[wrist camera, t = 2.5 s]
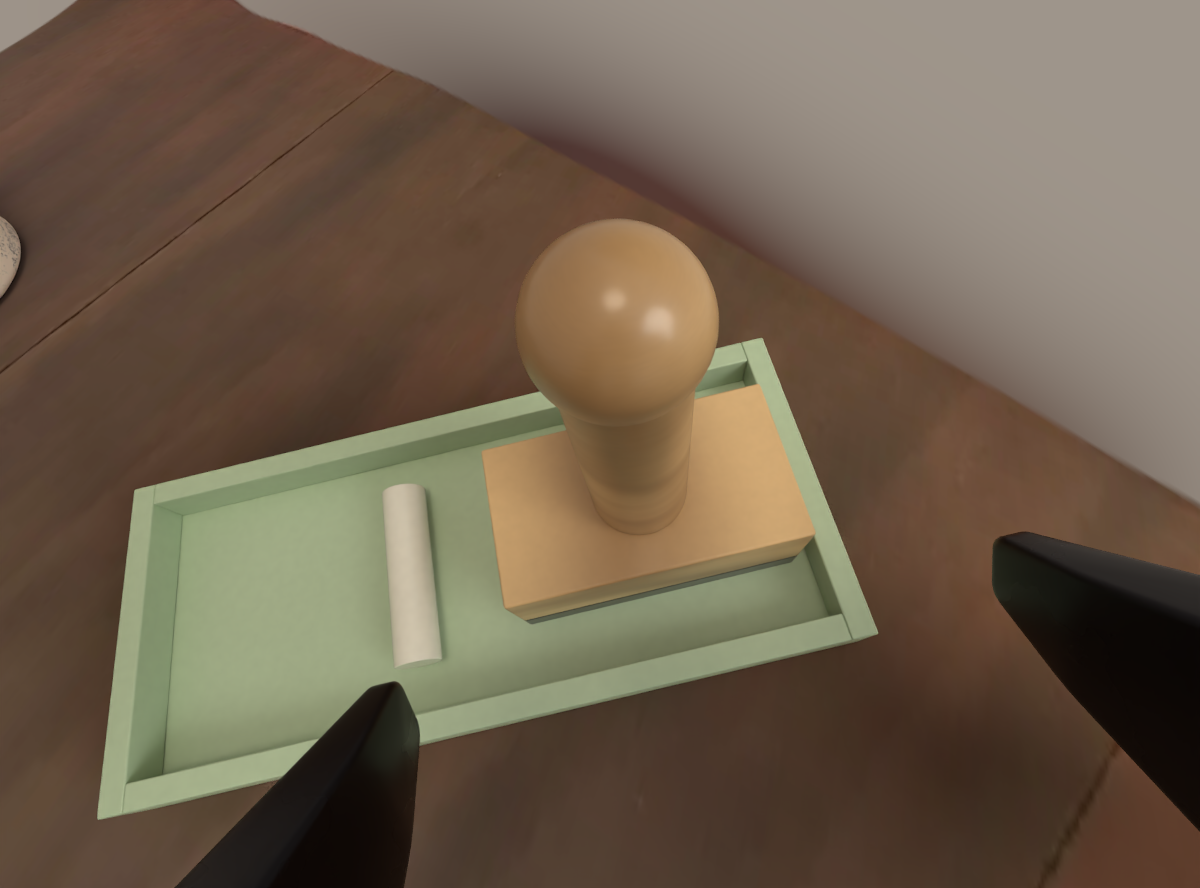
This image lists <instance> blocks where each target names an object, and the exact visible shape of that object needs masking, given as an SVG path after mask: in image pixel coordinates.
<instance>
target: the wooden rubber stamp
mask: <svg viewBox="0 0 1200 888" xmlns="http://www.w3.org/2000/svg"><path fill="white" fill-rule="evenodd" d="M718 331H719V312H718V304H717V300H716V296H715V292H714V288H713V285H712V283H711V281H710V279H709V277H708V275H707V273H706V270H705V269H704V267H703V266H702V264H701V263H700V261H699V260H698V258H697V257H696V256H695V255H694V254H693V253H692V251H691V250H690V249H689V248H688V247H687V246H686V245H685V244H683V243H682V242H681V241H680V240H679V239H677V238H676V237H674V236H673V235H671V234H670V233H668V232H667V231H665V230H663V229H661V228H659V227H657V226H654V225H651V224H648V223H645V222H640V221H636V220H630V219H603V220H598V221H593V222H590V223H587V224H584V225H581V226H579V227H576V228H574V229H572V230H570V231H569V232H567V233H565V234H563V235H562V236H560V237H559V238H558V239H556V240H555V241H553V242H552V243H551V244H550V245H549V246H548V247H547V248H546V249H545V250H544V251H543V252H542V253H541V254H540V255H539V257H538V258H537V259H536V261H535V262H534V263H533V265H532V266H531V268H530V269H529V271H528V273H527V275H526V277H525V279H524V282H523V284H522V287H521V289H520V292H519V295H518V300H517V306H516V312H515V333H516V342H517V346H518V350H519V354H520V357H521V360H522V363H523V365H524V367H525V369H526V371H527V373H528V375H529V377H530V378H531V380H532V381H533V383H534V384H535V386H536V387H537V388H538V390H539V391H540V392H541V393H542V394H543V395H544V396H545V397H546V398H547V399H548V400H549V401H550V402H551V403H552V404H554V405H555V406H556V407H557V408H558V409H559V412H560V414H561V417H562V420H563V422H564V425H565V428H566V430H565V431H561V432H556V433H552V434H548V435H544V436H540V437H536V438H532V439H528V440H523V441H519V442H515V443H511V444H507V445H503V446H499V447H494V448H490V449H486V450H483V451H482V452H481V455H482V462H483V469H484V476H485V482H486V489H487V496H488V503H489V510H490V517H491V524H492V530H493V537H494V544H495V551H496V558H497V565H498V572H499V579H500V585H501V592H502V599H503V606H504V608H505V609H506V610H508V611H510V612H511V613H513V614H515V615H516V616H518V617H520V618H521V619H523V620H525V621H526V622H528V623H529V624H536V623H540V622H544V621H548V620H552V619H557V618H561V617H565V616H569V615H573V614H578V613H582V612H586V611H590V610H594V609H598V608H603V607H607V606H611V605H615V604H619V603H623V602H628V601H632V600H636V599H640V598H644V597H649V596H653V595H657V594H661V593H665V592H669V591H674V590H678V589H682V588H686V587H690V586H695V585H699V584H703V583H707V582H711V581H715V580H720V579H724V578H728V577H732V576H736V575H740V574H745V573H749V572H753V571H757V570H761V569H766V568H770V567H774V566H778V565H782V564H786V563H791V562H792V561H793V560H794V559H795V558H796V557H797V555H798V554H799V553H800V552H801V551H802V550H803V548H804V547H805V546H806V545H807V544H808V542H809V541H810V540H811V539H812V538H813V537H814V535H815V534H816V532H815V529H814V526H813V524H812V521H811V518H810V516H809V513H808V510H807V508H806V505H805V502H804V500H803V497H802V495H801V492H800V489H799V487H798V484H797V481H796V479H795V476H794V473H793V471H792V468H791V465H790V463H789V460H788V457H787V455H786V452H785V449H784V447H783V444H782V442H781V439H780V436H779V434H778V431H777V428H776V426H775V423H774V420H773V418H772V415H771V412H770V410H769V407H768V404H767V402H766V399H765V396H764V394H763V391H762V389H761V386H760V385H759V384H755V385H751V386H747V387H743V388H738V389H734V390H730V391H726V392H722V393H718V394H714V395H709V396H705V397H701V398H697V399H694V398H695V389H696V387H697V386H698V385H699V383H700V382H701V381H702V379H703V377H704V375H705V373H706V372H707V370H708V368H709V366H710V364H711V361H712V358H713V356H714V353H715V349H716V344H717V339H718Z"/></svg>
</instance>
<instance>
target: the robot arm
mask: <svg viewBox="0 0 1200 888" xmlns="http://www.w3.org/2000/svg"><path fill="white" fill-rule="evenodd" d="M992 586H993V590H994V593H995V595H996V597H997V599H998V601H999V602H1000V603H1001V605H1002V606H1003V607H1004V609H1005V610H1006V611H1007V613H1008V614H1009V615H1010V616H1011V618H1012V619H1013V620H1014V622H1015V623H1016V624H1017V626H1018V627H1019V628H1020V629H1021V631H1022V632H1023V633H1024V635H1025V636H1026V637H1027V638H1028V640H1029V641H1030V642H1031V644H1032V645H1033V646H1034V648H1035V649H1036V650H1037V651H1038V653H1039V654H1040V655H1041V657H1042V658H1043V659H1044V660H1045V662H1046V663H1047V664H1048V666H1049V667H1050V668H1051V670H1052V671H1053V672H1054V673H1055V675H1056V676H1057V677H1058V678H1059V680H1060V681H1061V682H1062V683H1063V684H1064V686H1065V687H1066V688H1067V689H1068V690H1069V692H1070V693H1071V694H1072V695H1073V696H1074V697H1075V698H1076V699H1077V701H1078V702H1079V703H1080V704H1081V705H1082V706H1083V707H1084V708H1085V709H1086V710H1087V711H1088V713H1089V714H1090V715H1091V716H1092V717H1093V718H1094V719H1095V720H1096V721H1097V722H1098V723H1099V724H1100V725H1101V726H1102V728H1103V729H1104V730H1105V731H1106V732H1107V733H1108V734H1109V735H1110V736H1111V737H1112V738H1113V739H1114V740H1115V741H1116V742H1117V744H1118V745H1119V746H1120V747H1121V748H1122V749H1123V750H1124V751H1125V752H1126V753H1127V754H1128V755H1129V756H1130V757H1131V759H1132V760H1133V761H1134V762H1135V763H1136V764H1137V765H1138V766H1139V767H1140V768H1141V769H1142V770H1143V771H1144V772H1145V774H1146V775H1147V776H1148V777H1149V778H1150V779H1151V780H1152V781H1153V782H1154V783H1155V784H1156V785H1157V786H1158V787H1159V789H1160V790H1161V791H1162V792H1163V793H1164V794H1165V795H1166V796H1167V797H1168V798H1169V799H1170V800H1171V801H1172V802H1173V804H1174V805H1175V806H1176V807H1177V808H1178V809H1179V810H1180V811H1181V812H1182V813H1183V814H1184V815H1185V816H1186V817H1187V819H1188V820H1189V821H1190V822H1191V823H1192V824H1193V825H1194V826H1195V827H1196V828H1197V829H1198V830H1199V831H1200V575H1197V574H1193V573H1189V572H1185V571H1181V570H1177V569H1173V568H1169V567H1165V566H1162V565H1158V564H1154V563H1150V562H1146V561H1142V560H1138V559H1134V558H1130V557H1126V556H1122V555H1118V554H1114V553H1110V552H1106V551H1102V550H1098V549H1094V548H1090V547H1086V546H1082V545H1078V544H1074V543H1070V542H1066V541H1062V540H1058V539H1054V538H1050V537H1046V536H1042V535H1038V534H1034V533H1030V532H1018V533H1014V534H1010V535H1006V536H1001V537H999V538H997V539H996V540H995V541H994V544H993V556H992ZM419 745H420V729H419V724H418V720H417V718H416V716H415V713H414V711H413V709H412V707H411V704H410V702H409V700H408V698H407V695H406V693H405V691H404V689H403V687H402V685H401V684H400V683H399V682H396V681H391V682H387V683H383V684H379V685H374V686H372V687H370V688H368V689H367V690H366V691H365V692H364V693H363V694H362V695H361V696H360V697H359V698H358V699H357V700H356V701H355V702H354V703H353V705H352V706H351V707H350V708H349V709H348V710H347V711H346V712H345V713H344V714H343V715H342V716H341V717H340V718H339V719H338V720H337V721H336V722H335V723H334V724H333V725H332V726H331V727H330V728H329V729H328V730H327V731H326V732H325V733H324V734H323V735H322V736H321V738H320V739H319V740H318V741H317V742H316V743H315V744H314V745H313V746H312V747H311V748H310V749H309V750H308V751H307V752H306V753H305V754H304V755H303V756H302V757H301V758H300V759H299V760H298V761H297V762H296V763H295V764H294V765H293V766H292V767H291V768H290V769H289V770H288V772H287V773H286V774H285V775H284V776H283V777H282V778H281V779H280V780H279V781H278V782H277V783H276V784H275V785H274V786H273V787H272V788H271V789H270V790H269V791H268V792H267V793H266V794H265V795H264V796H263V797H262V798H261V799H260V800H259V801H258V802H257V803H256V804H255V805H254V807H253V808H252V809H251V810H250V811H249V812H248V813H247V814H246V815H245V816H244V817H243V818H242V819H241V820H240V821H239V822H238V823H237V824H236V825H235V826H234V827H233V828H232V829H231V830H230V831H229V832H228V833H227V834H226V835H225V836H224V837H223V838H222V839H221V840H220V842H219V843H218V844H217V845H216V846H215V847H214V848H213V849H212V850H211V851H210V852H209V853H208V854H207V855H206V856H205V857H204V858H203V859H202V860H201V861H200V862H199V863H198V864H197V865H196V866H195V867H194V868H193V869H192V870H191V871H190V872H189V873H188V874H187V875H186V877H185V878H184V879H183V880H182V881H181V882H180V883H179V884H178V885H177V886H176V887H175V888H404V884H405V878H406V873H407V867H408V862H409V855H410V849H411V842H412V833H413V822H414V809H415V797H416V784H417V771H418V758H419Z"/></svg>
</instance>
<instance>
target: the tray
mask: <svg viewBox="0 0 1200 888" xmlns="http://www.w3.org/2000/svg"><path fill="white" fill-rule="evenodd" d="M755 384H759V385H760V386H761V389H762V391H763V394H764V396H765V399H766V402H767V404H768V407H769V410H770V412H771V415H772V418H773V420H774V423H775V426H776V428H777V431H778V434H779V436H780V439H781V442H782V444H783V447H784V449H785V452H786V455H787V457H788V460H789V463H790V465H791V468H792V471H793V473H794V476H795V479H796V481H797V484H798V487H799V489H800V492H801V495H802V497H803V500H804V502H805V505H806V508H807V510H808V513H809V516H810V518H811V521H812V524H813V526H814V529H815V532H816V534H815V535H814V537H813V538H812V539H811V540H810V541H809V542H808V544H807V545H806V546H805V547H804V548H803V550H802V551H801V552H800V553H799V554H798V555H797V557H796V558H795V559H794V560H793V561H792V562H791V563H786V564H782V565H778V566H774V567H770V568H766V569H761V570H757V571H753V572H749V573H745V574H740V575H736V576H732V577H728V578H724V579H720V580H715V581H711V582H707V583H703V584H699V585H695V586H690V587H686V588H682V589H678V590H674V591H669V592H665V593H661V594H657V595H653V596H649V597H644V598H640V599H636V600H632V601H628V602H623V603H619V604H615V605H611V606H607V607H603V608H598V609H594V610H590V611H586V612H582V613H578V614H573V615H569V616H565V617H561V618H557V619H552V620H548V621H544V622H540V623H536V624H529V623H528V622H526V621H525V620H523V619H521V618H520V617H518V616H516V615H515V614H513V613H511V612H510V611H508V610H506V609H505V608H504V606H503V599H502V592H501V585H500V579H499V572H498V565H497V558H496V551H495V544H494V537H493V530H492V524H491V517H490V510H489V503H488V496H487V489H486V482H485V476H484V469H483V462H482V455H481V452H482V451H483V450H486V449H490V448H494V447H499V446H503V445H507V444H511V443H515V442H519V441H523V440H528V439H532V438H536V437H540V436H544V435H548V434H552V433H556V432H561V431H565V430H566V428H565V425H564V422H563V420H562V417H561V414H560V412H559V409H558V408H557V407H556V406H555V405H554V404H552V403H551V402H550V401H549V400H548V399H547V398H546V397H545V396H544V395H543V394H542V393H541V392H535V393H531V394H527V395H523V396H519V397H515V398H511V399H507V400H502V401H498V402H494V403H490V404H486V405H482V406H478V407H474V408H469V409H465V410H461V411H457V412H453V413H449V414H445V415H441V416H436V417H432V418H428V419H424V420H420V421H416V422H412V423H408V424H403V425H399V426H395V427H391V428H387V429H383V430H379V431H375V432H370V433H366V434H362V435H358V436H354V437H350V438H346V439H342V440H337V441H333V442H329V443H325V444H321V445H317V446H313V447H309V448H304V449H300V450H296V451H292V452H288V453H284V454H280V455H276V456H271V457H267V458H263V459H259V460H255V461H251V462H247V463H243V464H238V465H234V466H230V467H226V468H222V469H218V470H214V471H210V472H205V473H201V474H197V475H193V476H189V477H185V478H181V479H177V480H172V481H168V482H164V483H160V484H156V485H152V486H148V487H144V488H140V489H136V490H135V491H134V499H133V507H132V516H131V525H130V534H129V542H128V551H127V560H126V569H125V577H124V586H123V595H122V603H121V612H120V621H119V630H118V638H117V647H116V656H115V665H114V673H113V682H112V691H111V700H110V708H109V717H108V726H107V734H106V743H105V752H104V761H103V769H102V778H101V787H100V796H99V804H98V813H97V819H99V820H100V819H105V818H110V817H115V816H120V815H125V814H130V813H136V812H141V811H146V810H151V809H156V808H160V807H164V806H168V805H173V804H177V803H181V802H185V801H189V800H194V799H198V798H202V797H206V796H210V795H215V794H219V793H223V792H227V791H231V790H236V789H240V788H244V787H248V786H253V785H257V784H261V783H265V782H269V781H274V780H278V779H281V778H282V777H283V776H284V775H285V774H286V773H287V772H288V770H289V769H290V768H291V767H292V766H293V765H294V764H295V763H296V762H297V761H298V760H299V759H300V758H301V757H302V756H303V755H304V754H305V753H306V752H307V751H308V750H309V749H310V748H311V747H312V746H313V745H314V744H315V743H316V742H317V741H318V740H319V739H320V738H321V736H322V735H323V734H324V733H325V732H326V731H327V730H328V729H329V728H330V727H331V726H332V725H333V724H334V723H335V722H336V721H337V720H338V719H339V718H340V717H341V716H342V715H343V714H344V713H345V712H346V711H347V710H348V709H349V708H350V707H351V706H352V705H353V703H354V702H355V701H356V700H357V699H358V698H359V697H360V696H361V695H362V694H363V693H364V692H365V691H366V690H367V689H368V688H370V687H372V686H374V685H379V684H383V683H387V682H391V681H396V682H399V683H400V684H401V685H402V687H403V689H404V691H405V693H406V695H407V698H408V700H409V702H410V704H411V707H412V709H413V711H414V713H415V716H416V718H417V720H418V724H419V729H420V745H419V746H421V745H425V744H429V743H433V742H437V741H442V740H446V739H450V738H454V737H458V736H463V735H467V734H471V733H475V732H479V731H484V730H488V729H492V728H496V727H500V726H505V725H509V724H513V723H517V722H521V721H526V720H530V719H534V718H538V717H542V716H547V715H551V714H555V713H559V712H563V711H568V710H572V709H576V708H580V707H584V706H589V705H593V704H597V703H601V702H605V701H610V700H614V699H618V698H622V697H626V696H631V695H635V694H639V693H643V692H647V691H652V690H656V689H660V688H664V687H668V686H673V685H677V684H681V683H685V682H689V681H694V680H698V679H702V678H706V677H710V676H715V675H719V674H723V673H727V672H731V671H736V670H740V669H744V668H748V667H752V666H757V665H761V664H765V663H769V662H773V661H778V660H782V659H786V658H790V657H794V656H799V655H803V654H807V653H811V652H815V651H820V650H824V649H828V648H832V647H836V646H841V645H845V644H849V643H853V642H857V641H860V640H863V639H866V638H868V637H871V636H874V635H877V634H878V631H877V628H876V626H875V623H874V621H873V618H872V616H871V613H870V611H869V608H868V605H867V603H866V600H865V598H864V595H863V593H862V590H861V588H860V585H859V583H858V580H857V577H856V575H855V572H854V570H853V567H852V565H851V562H850V560H849V557H848V555H847V552H846V550H845V547H844V544H843V542H842V539H841V537H840V534H839V532H838V529H837V527H836V524H835V522H834V519H833V517H832V514H831V511H830V509H829V506H828V504H827V501H826V499H825V496H824V494H823V491H822V489H821V486H820V484H819V481H818V478H817V476H816V473H815V471H814V468H813V466H812V463H811V461H810V458H809V456H808V453H807V451H806V448H805V445H804V443H803V440H802V438H801V435H800V433H799V430H798V428H797V425H796V423H795V420H794V418H793V415H792V412H791V410H790V407H789V405H788V402H787V400H786V397H785V395H784V392H783V390H782V387H781V385H780V382H779V379H778V377H777V374H776V372H775V369H774V367H773V364H772V362H771V359H770V357H769V354H768V351H767V349H766V346H765V344H764V341H763V339H762V338H758V339H754V340H750V341H746V342H742V343H738V344H733V345H729V346H725V347H721V348H717V349H715V353H714V356H713V358H712V361H711V364H710V366H709V368H708V370H707V372H706V373H705V375H704V377H703V379H702V381H701V382H700V383H699V385H698V386H697V387H696V389H695V398H694V399H697V398H701V397H705V396H709V395H714V394H718V393H722V392H726V391H730V390H734V389H738V388H743V387H747V386H751V385H755ZM399 484H418V485H421V486H423V487H424V488H425V491H426V500H427V510H428V520H429V530H430V540H431V550H432V559H433V569H434V579H435V589H436V599H437V609H438V618H439V628H440V638H441V648H442V660H441V661H439V662H437V663H434V664H431V665H427V666H423V667H418V668H412V669H402V670H398V669H394V664H393V650H392V635H391V621H390V606H389V592H388V577H387V563H386V548H385V534H384V520H383V505H382V492H383V491H384V490H385V489H387V488H388V487H391V486H394V485H399Z"/></svg>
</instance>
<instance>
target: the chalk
mask: <svg viewBox="0 0 1200 888" xmlns="http://www.w3.org/2000/svg"><path fill="white" fill-rule="evenodd" d="M382 505H383V520H384V534H385V548H386V563H387V577H388V592H389V606H390V621H391V635H392V650H393V664H394V669H398V670H402V669H412V668H418V667H423V666H427V665H431V664H434V663H437V662H439V661H441V660H442V648H441V638H440V628H439V618H438V609H437V599H436V589H435V579H434V569H433V559H432V550H431V540H430V530H429V520H428V510H427V500H426V491H425V488H424V487H423V486H421V485H418V484H399V485H394V486H391V487H388V488H387V489H385V490H384V491H383V492H382Z"/></svg>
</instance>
